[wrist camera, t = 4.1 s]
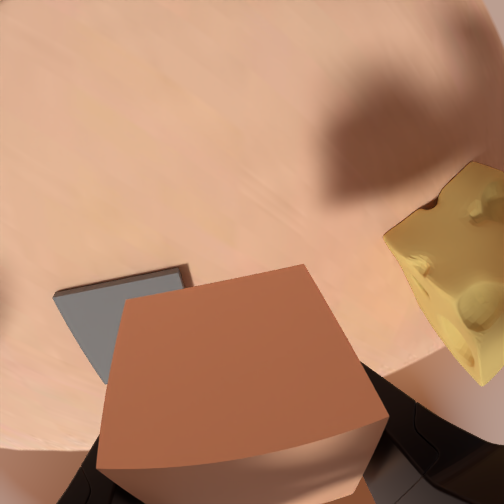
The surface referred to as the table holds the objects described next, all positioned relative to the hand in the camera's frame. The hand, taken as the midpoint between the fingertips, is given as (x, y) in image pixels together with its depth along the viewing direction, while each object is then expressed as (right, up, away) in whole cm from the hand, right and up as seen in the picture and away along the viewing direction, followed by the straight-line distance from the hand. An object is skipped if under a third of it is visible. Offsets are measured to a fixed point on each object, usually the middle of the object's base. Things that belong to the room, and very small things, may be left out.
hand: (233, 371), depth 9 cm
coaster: (-8, -2, +12) cm, 15 cm away
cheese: (+16, +5, +14) cm, 22 cm away
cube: (0, 0, +1) cm, 1 cm away
